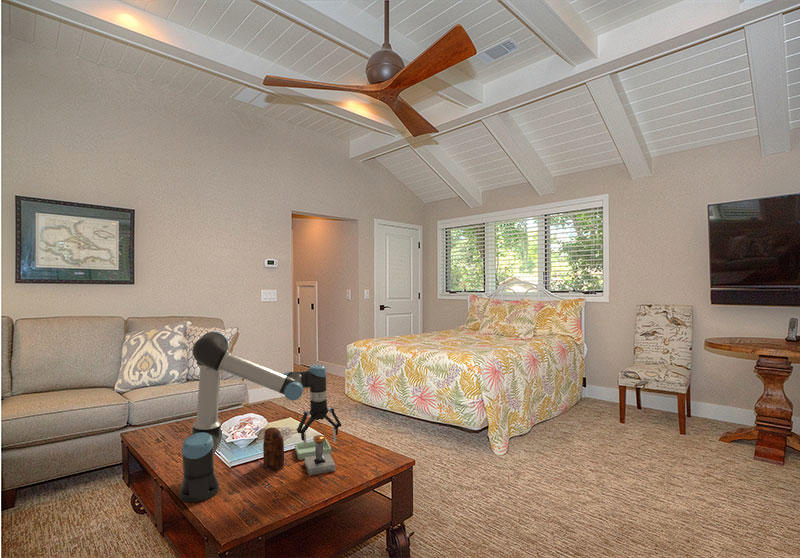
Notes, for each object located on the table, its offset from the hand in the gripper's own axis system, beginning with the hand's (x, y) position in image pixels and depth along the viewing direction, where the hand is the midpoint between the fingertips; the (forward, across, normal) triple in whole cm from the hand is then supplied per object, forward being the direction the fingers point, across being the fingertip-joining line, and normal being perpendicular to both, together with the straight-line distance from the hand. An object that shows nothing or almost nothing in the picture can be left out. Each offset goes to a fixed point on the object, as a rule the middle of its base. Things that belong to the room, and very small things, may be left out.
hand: (319, 444), depth 216 cm
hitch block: (+11, 0, 0) cm, 11 cm away
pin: (+11, 0, 0) cm, 11 cm away
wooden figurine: (+11, -20, +9) cm, 25 cm away
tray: (+11, 0, +17) cm, 20 cm away
